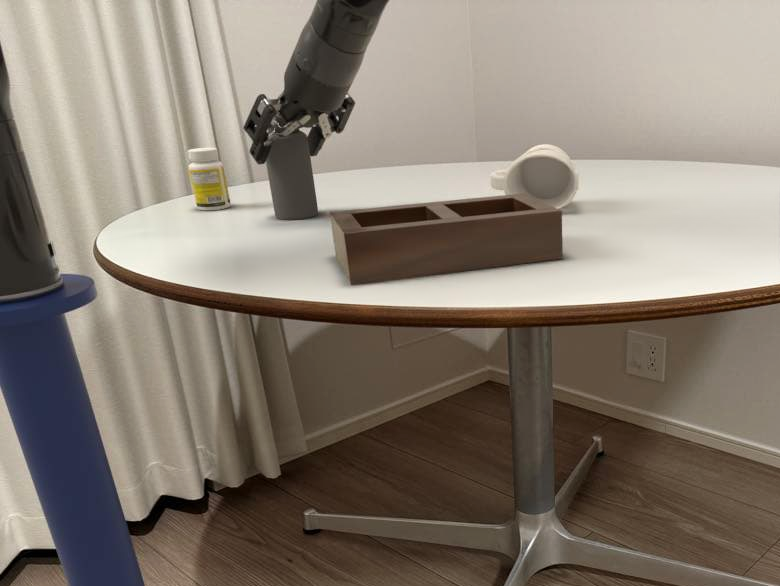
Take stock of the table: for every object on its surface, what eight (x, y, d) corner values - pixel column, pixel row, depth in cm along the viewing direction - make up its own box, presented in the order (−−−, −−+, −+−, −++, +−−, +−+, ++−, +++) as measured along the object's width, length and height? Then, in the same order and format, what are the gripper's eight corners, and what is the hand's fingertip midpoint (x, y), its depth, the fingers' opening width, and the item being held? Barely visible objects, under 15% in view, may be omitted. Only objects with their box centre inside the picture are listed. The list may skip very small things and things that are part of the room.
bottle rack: (563, 258, 83) (562, 210, 80) (350, 285, 76) (343, 233, 74) (525, 236, 93) (523, 193, 91) (335, 257, 86) (329, 211, 84)
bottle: (291, 211, 113) (273, 99, 107) (326, 212, 111) (310, 98, 105) (266, 219, 108) (246, 102, 102) (303, 220, 106) (285, 101, 100)
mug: (579, 201, 113) (579, 142, 109) (578, 214, 104) (577, 151, 101) (496, 203, 113) (493, 145, 110) (488, 216, 105) (484, 153, 102)
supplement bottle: (212, 204, 120) (200, 147, 117) (237, 205, 119) (226, 147, 116) (190, 210, 116) (177, 151, 113) (216, 211, 115) (204, 151, 111)
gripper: (353, 37, 101) (310, 129, 112) (258, 39, 91) (221, 140, 102) (386, 82, 100) (340, 169, 112) (294, 88, 90) (253, 184, 101)
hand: (283, 155), depth 107 cm, fingers open, 8 cm apart
